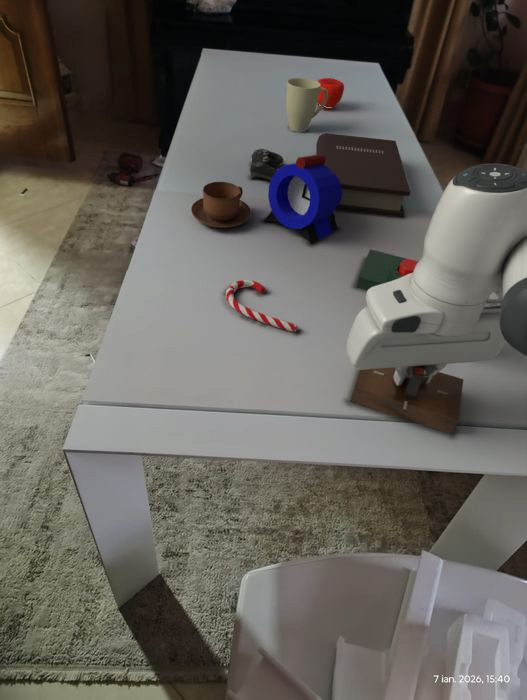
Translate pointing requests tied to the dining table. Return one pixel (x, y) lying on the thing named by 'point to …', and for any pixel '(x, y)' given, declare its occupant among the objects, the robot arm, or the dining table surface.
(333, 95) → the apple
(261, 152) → the gaming controller
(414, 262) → the red button
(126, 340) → the dining table surface
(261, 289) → the candy cane
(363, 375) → the control panel
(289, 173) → the alarm clock
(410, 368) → the red-tipped grey bar
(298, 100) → the mug
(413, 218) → the dining table surface
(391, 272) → the button box
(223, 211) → the cup and saucer
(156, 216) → the dining table surface
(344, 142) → the book
